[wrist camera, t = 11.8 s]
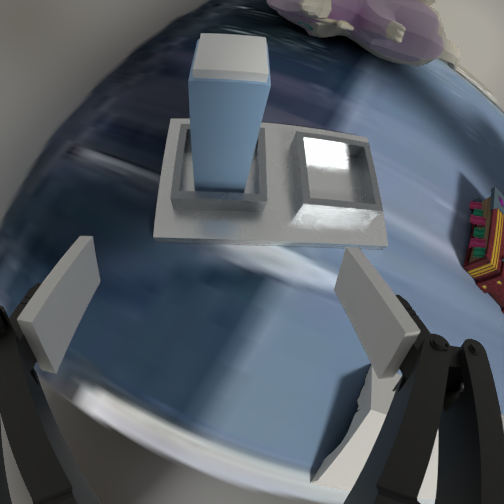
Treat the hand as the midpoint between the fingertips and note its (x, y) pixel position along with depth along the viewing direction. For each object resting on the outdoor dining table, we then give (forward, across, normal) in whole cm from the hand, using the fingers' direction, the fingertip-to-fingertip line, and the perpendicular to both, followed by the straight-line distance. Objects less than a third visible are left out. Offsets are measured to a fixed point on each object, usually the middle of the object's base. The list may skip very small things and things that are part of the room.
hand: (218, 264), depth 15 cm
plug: (+12, 0, +2) cm, 12 cm away
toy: (+33, +19, +21) cm, 44 cm away
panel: (+13, +5, +1) cm, 14 cm away
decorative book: (+9, +35, -4) cm, 36 cm away
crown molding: (-6, +24, -19) cm, 31 cm away
